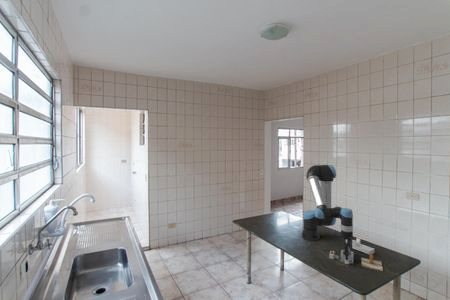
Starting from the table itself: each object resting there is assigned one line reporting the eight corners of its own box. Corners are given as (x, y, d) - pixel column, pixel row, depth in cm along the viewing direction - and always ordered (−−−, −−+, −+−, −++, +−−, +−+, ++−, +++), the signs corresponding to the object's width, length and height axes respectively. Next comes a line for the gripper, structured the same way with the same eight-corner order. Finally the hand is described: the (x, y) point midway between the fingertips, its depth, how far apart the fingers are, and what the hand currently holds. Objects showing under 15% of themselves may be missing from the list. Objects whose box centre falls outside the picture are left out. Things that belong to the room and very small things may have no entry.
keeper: (361, 258, 172) (361, 249, 171) (381, 262, 166) (381, 252, 166) (361, 266, 161) (361, 256, 161) (382, 271, 155) (382, 260, 155)
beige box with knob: (330, 254, 179) (330, 249, 179) (334, 255, 178) (334, 250, 177) (329, 258, 174) (329, 253, 174) (333, 259, 172) (333, 254, 172)
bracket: (352, 249, 187) (352, 239, 187) (357, 246, 191) (357, 237, 191) (369, 255, 176) (369, 245, 176) (374, 253, 180) (374, 243, 179)
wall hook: (333, 256, 176) (333, 254, 176) (338, 257, 175) (338, 255, 174) (332, 257, 174) (332, 255, 174) (338, 258, 172) (338, 256, 172)
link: (341, 256, 176) (341, 249, 176) (353, 258, 172) (353, 251, 172) (340, 261, 169) (340, 254, 169) (353, 263, 165) (353, 256, 165)
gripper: (341, 224, 183) (342, 251, 183) (339, 235, 161) (340, 266, 162) (353, 225, 179) (353, 253, 180) (352, 237, 157) (352, 269, 158)
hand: (347, 259), depth 171 cm, fingers open, 13 cm apart
